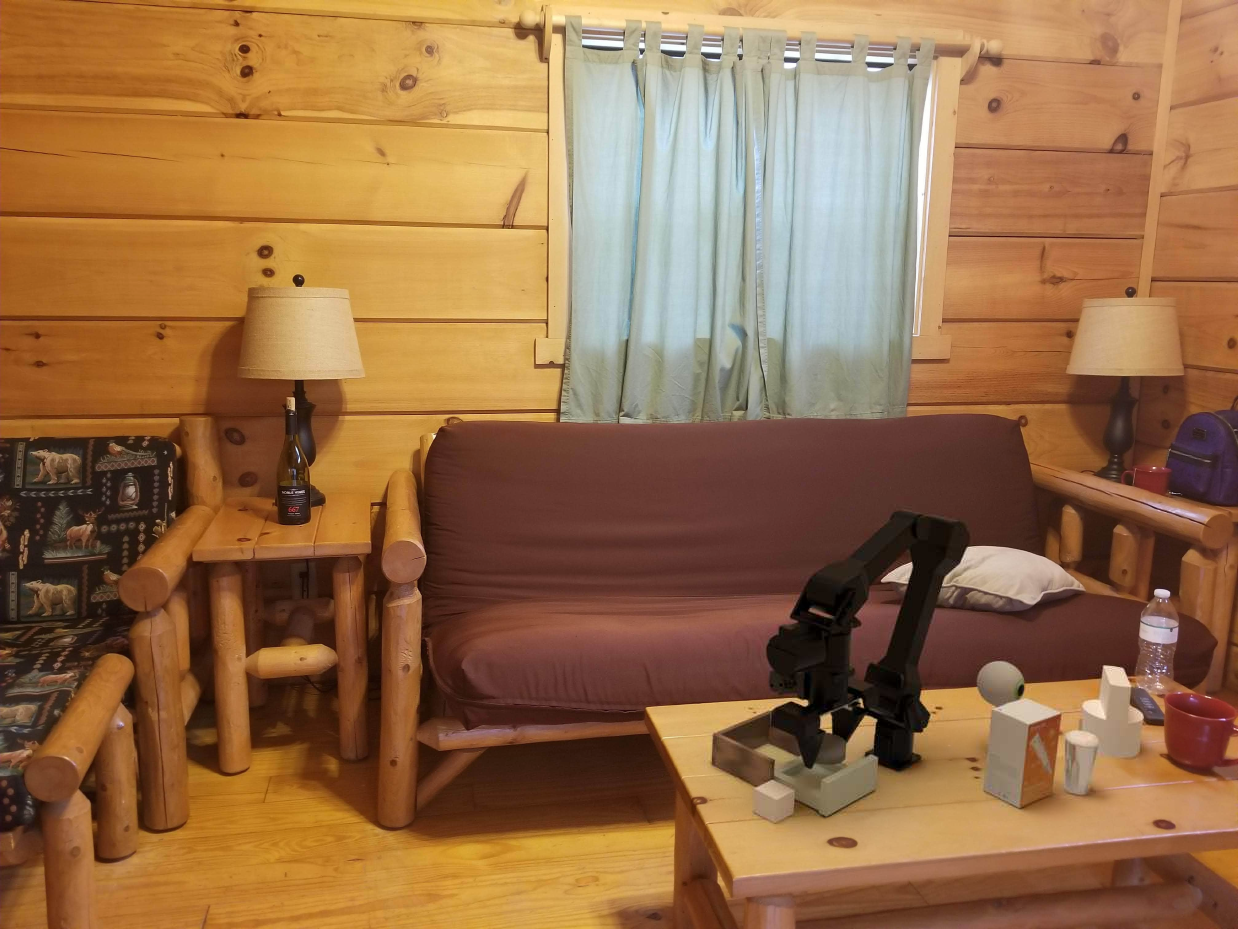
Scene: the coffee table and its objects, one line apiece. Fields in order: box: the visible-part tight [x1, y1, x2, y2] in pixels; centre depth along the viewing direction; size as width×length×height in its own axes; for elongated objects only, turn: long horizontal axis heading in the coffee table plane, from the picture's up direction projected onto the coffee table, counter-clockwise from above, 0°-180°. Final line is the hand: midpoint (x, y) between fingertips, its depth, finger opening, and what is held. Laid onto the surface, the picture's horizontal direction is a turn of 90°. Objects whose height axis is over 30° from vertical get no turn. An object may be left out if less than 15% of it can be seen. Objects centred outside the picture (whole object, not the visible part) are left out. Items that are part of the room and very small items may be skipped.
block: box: [752, 780, 795, 824], centre depth 139 cm, size 4×4×4 cm
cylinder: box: [815, 731, 847, 765], centre depth 145 cm, size 6×6×2 cm
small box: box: [982, 697, 1062, 809], centre depth 145 cm, size 8×6×13 cm
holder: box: [711, 710, 801, 788], centre depth 153 cm, size 12×13×5 cm
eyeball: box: [976, 660, 1026, 708], centre depth 158 cm, size 7×7×15 cm
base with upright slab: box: [1080, 665, 1144, 759], centre depth 162 cm, size 9×9×12 cm
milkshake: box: [1063, 718, 1099, 796], centre depth 147 cm, size 4×5×10 cm
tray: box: [774, 755, 879, 817], centre depth 146 cm, size 11×12×5 cm
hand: (822, 760), depth 145 cm, fingers closed on cylinder, 6 cm apart
